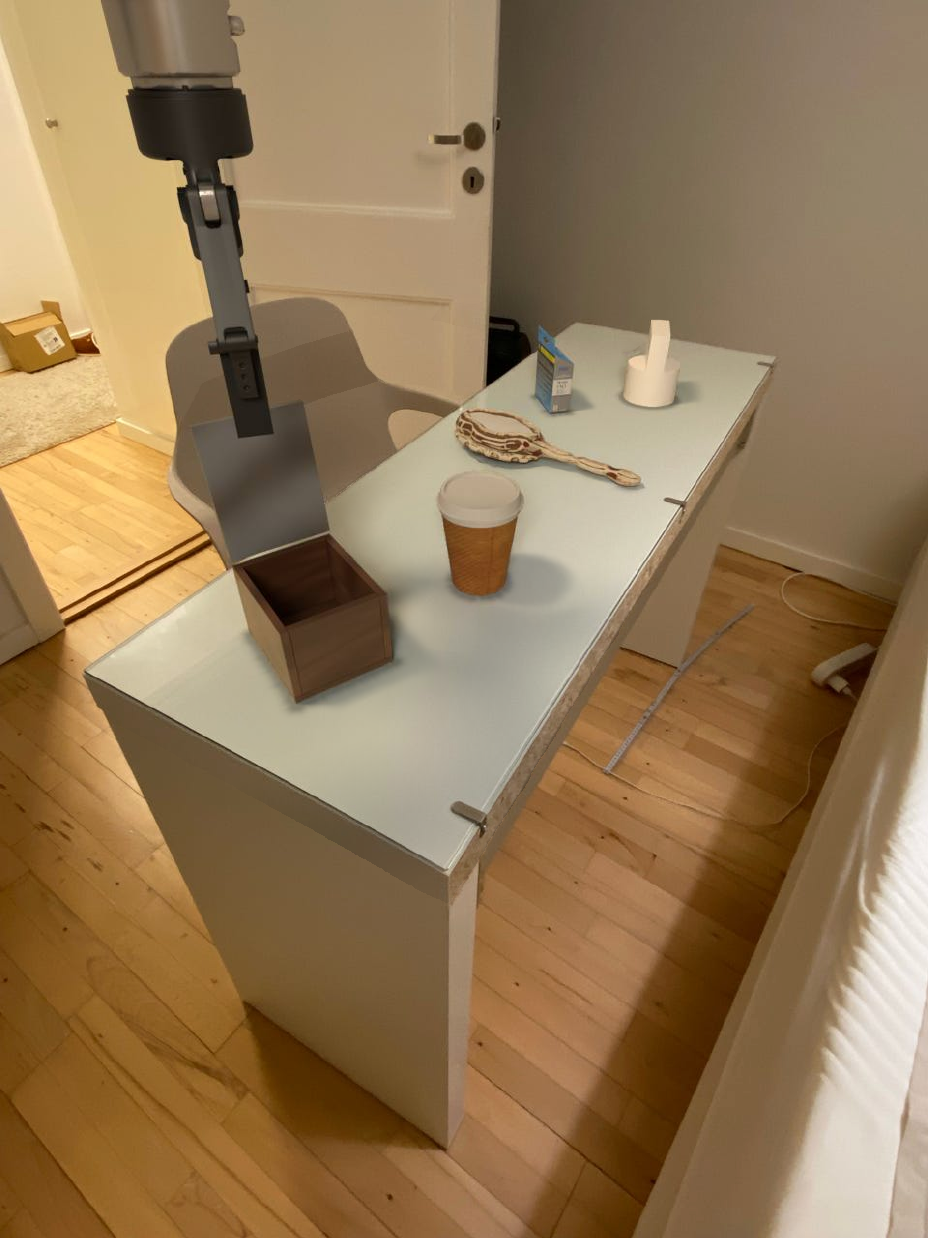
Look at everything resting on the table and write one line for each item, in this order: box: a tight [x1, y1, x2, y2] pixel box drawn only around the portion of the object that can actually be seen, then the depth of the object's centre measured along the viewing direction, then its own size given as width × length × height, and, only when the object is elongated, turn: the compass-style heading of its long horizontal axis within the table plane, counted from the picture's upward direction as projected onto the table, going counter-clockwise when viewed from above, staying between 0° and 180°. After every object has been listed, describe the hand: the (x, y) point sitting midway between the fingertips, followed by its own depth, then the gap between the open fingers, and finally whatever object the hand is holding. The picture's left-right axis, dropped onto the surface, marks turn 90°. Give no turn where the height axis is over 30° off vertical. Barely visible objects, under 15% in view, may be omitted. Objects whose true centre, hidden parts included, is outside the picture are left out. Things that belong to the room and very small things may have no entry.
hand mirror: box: [453, 406, 642, 487], centre depth 101 cm, size 11×6×30 cm
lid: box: [188, 399, 331, 563], centre depth 66 cm, size 14×11×1 cm
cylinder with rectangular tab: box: [622, 319, 682, 408], centre depth 119 cm, size 9×9×12 cm
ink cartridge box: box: [534, 324, 575, 414], centre depth 117 cm, size 9×4×12 cm, turn 13°
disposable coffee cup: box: [435, 469, 525, 596], centre depth 77 cm, size 10×10×12 cm
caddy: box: [231, 533, 394, 704], centre depth 69 cm, size 13×11×9 cm
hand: (249, 402), depth 58 cm, fingers open, 13 cm apart
